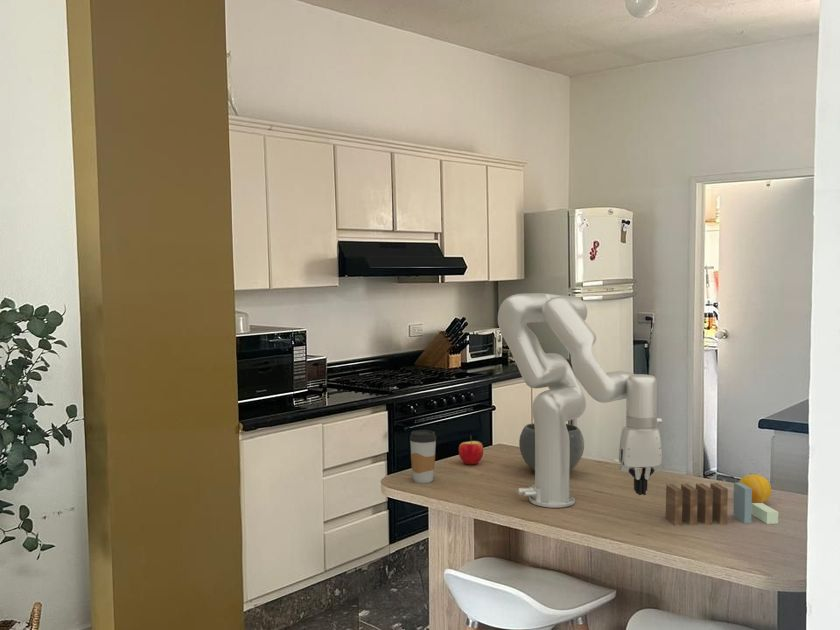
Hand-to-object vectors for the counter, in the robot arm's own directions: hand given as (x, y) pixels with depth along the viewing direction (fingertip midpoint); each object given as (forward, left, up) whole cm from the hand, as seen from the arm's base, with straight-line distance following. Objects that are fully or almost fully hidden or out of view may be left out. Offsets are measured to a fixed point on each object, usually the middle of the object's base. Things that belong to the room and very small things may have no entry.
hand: (640, 493), depth 206 cm
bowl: (-10, +52, -8) cm, 54 cm away
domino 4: (+21, 0, -8) cm, 22 cm away
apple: (-34, +66, -8) cm, 75 cm away
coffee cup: (-52, +46, -8) cm, 70 cm away
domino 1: (+9, 0, -8) cm, 12 cm away
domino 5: (+27, 0, -8) cm, 28 cm away
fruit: (+38, +14, -8) cm, 41 cm away
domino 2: (+13, 0, -8) cm, 15 cm away
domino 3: (+17, 0, -8) cm, 19 cm away
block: (+33, 0, -8) cm, 34 cm away
